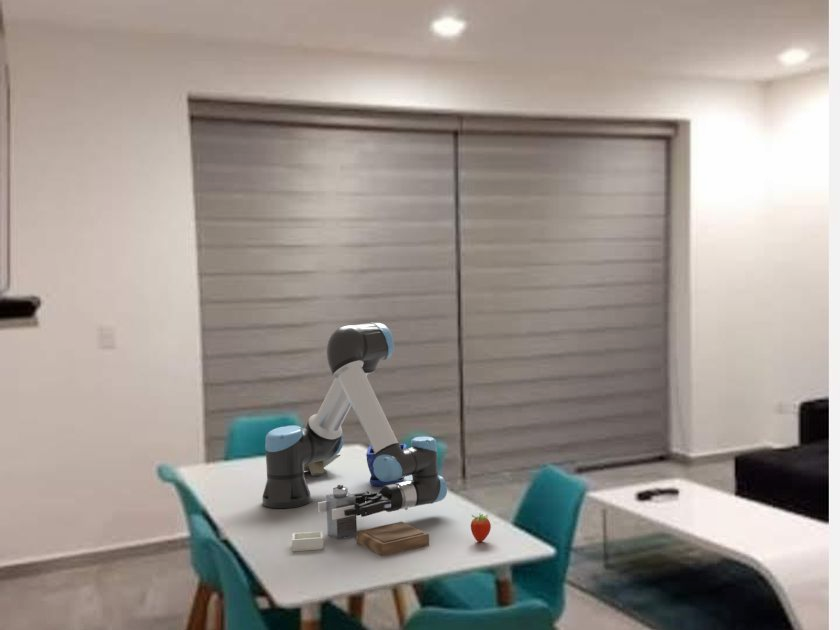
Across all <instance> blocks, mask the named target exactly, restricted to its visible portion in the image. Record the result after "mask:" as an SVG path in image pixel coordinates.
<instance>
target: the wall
mask: <svg viewBox="0 0 840 630" xmlns="http://www.w3.org/2000/svg"><path fill="white" fill-rule="evenodd" d="M340 457H341V454H337V455H336V456H334V457H332V458H330V459H328V460H323V461H319V462H315V463H310V464H306V465H304V472H310V474H311V476H312V477H320V476H322V475H324V473H325V468H326V467H328V465H329V464H331V463H333V462H334V461H335V460H336V459H338V458H340Z"/></svg>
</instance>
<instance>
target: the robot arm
mask: <svg viewBox="0 0 840 630" xmlns="http://www.w3.org/2000/svg"><path fill="white" fill-rule="evenodd" d="M394 350H395V342H394V337H393V334H392V332H391V330H390V329H389V328H388V326H386V325H385V324H384V323H381V322H373V321H371V322H368V323H361V324H359V323H358V324H352V325H351V324H350V325H344V326H340V327H339V328H337V329H336V330H334V332H332V333H331V335H330V337H329V339H328V341H327V346H326V359H327V363H328V367H329V370H330V372H331V373H332V374H331V375H332V376H333V378H334V379H333V381H332V384H331V385H330V387H329V389H328V392H327V393H326V395H325V397H324V400H323V401H322V403H321V405H320V407H319V409H318V411H317V412H316V413H315V414H312V415H311V416H310V417H309V419H308V420H307V423H306V425H305V426H304V427H301V426H299V425H285V426H280V427H279V426H278V427H276V428H274V429H272V430H270V431H269V432H267V433H266V435H265V445H264V449H265V460H266V464H265V465H266V483H265V486H264V490H263V493H262V501H261V502H262V505H263V507H266V508H270V509H290V508H291V509H292V508H296V507H297V508H298V507H301V506H302V507H303V506H305V505H308V504H309V503H310V502H311V501H312V499H311V496H312V495H311V491H310V488H309V486H308V483H307V480H306V479H305V471H304V465H306V464H310V463H315V462H319V461H323V460H328V459H330V458H332V457H334V456H336V455H339V453H340V452H341V450H342V448H343V445H344V440H343V438H344V434H343V427H342V424H343V422H344V420H345V419H346V417H347V414H348V413H349V411H350V409H351V407H352V409H353V412H354V413H355V416H356V418H357V420H358V423H359V425H360V426H361V429H362V431H363V433H364V435H365V436H366V439H367V440H368V443H369V446H370V445H371V447H372V449H373V451H374V453H375V456H376V459H375V460H374V463H373V467H374V474H375V476H376V477H377V478H378V479H379V480H381V481H383V482H388V481H394V480H398V479H400V478H403V477H404V478H405V477H408V476H411V477H412V479H411V480H405V481H403V482H399V483H396V484H390V485H385V486H381V487H380V490H379V492H377V491H376V492H375V491H374V492H371V493H370V491H369V490H366V491H363V492H357V493H351V494H352V495H354V496H355V498H356V503H355V506H354V505H351V506H346V507H341V508H336V509H332V519H333V520H335V519H340V518H345V517H350V516H354V515H355V514H356V517H357V516H361V517H363V518H364V517H367V516H370V515H375V514H378V513H381V512H387V513H391V512H395V511H400V510H403V509H404V510H405V511H407V510H409V508H414V507H419V506H423V505H429V504H434V503H437V502H441V501H443V500H445V498H446V497H447V495H448V494H447V493H448V486H447V482H446V480H445V478H444V477H443V476H442V475H439V474H438V470H439V469H438V448H437V447H438V446H437V440H436V439H435V438H434V437H432V436H415V437H414V438H412V439H411V440H410V446H409V447H407V449H403V450H402V449H401V447H400V445H399V444H400V443H399V441H398V438H397V437H396V435H395V432H394V430H393V429H392V427H391V425H390V423H389V420H388V418H387V416H386V414H385V412H384V409H383V407H382V406H381V404H380V402H379V400H378V398H377V395H376V393H375V392H374V389H373V388H372V387H373V386H372V384H371V383H370V381H369V379H368V375H369V374H373V373H375V372H376V370H377V368H378V367H379V364H381V363H380V362H381V361H385V360H387V359H389V358H390V357H391V356H392V355H393V352H394ZM355 507H356V508H355ZM317 512H318V513H324V512H327V506H326V500H323V501H320V502H317Z"/></svg>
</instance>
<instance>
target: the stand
mask: <svg viewBox="0 0 840 630" xmlns="http://www.w3.org/2000/svg"><path fill="white" fill-rule="evenodd" d="M356 543H357V544H359V545H361V546H363V547H365V548H367V549H369V550H371V551H373V552H375V553H377V554H379V555H381V556H382V557H385V556H389V555H394V554H397V553H402V552H406V551H410V550H414V549H415V550H416V549H418V548H423V547H426V546H430V533H428V532H426V531H424V530H421V529H419V528H417V527H414V526H412V525H410V524H407V523H406V522H404V521H397V522H393V523H389V524H384V525H380V526H379V525H378V526H375V527H369V528H365V529H360V530H357V535H356Z"/></svg>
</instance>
